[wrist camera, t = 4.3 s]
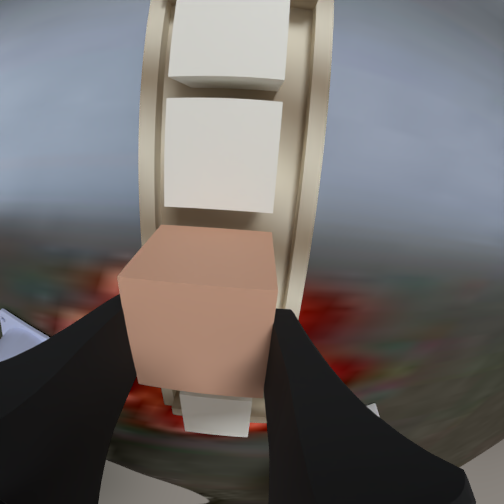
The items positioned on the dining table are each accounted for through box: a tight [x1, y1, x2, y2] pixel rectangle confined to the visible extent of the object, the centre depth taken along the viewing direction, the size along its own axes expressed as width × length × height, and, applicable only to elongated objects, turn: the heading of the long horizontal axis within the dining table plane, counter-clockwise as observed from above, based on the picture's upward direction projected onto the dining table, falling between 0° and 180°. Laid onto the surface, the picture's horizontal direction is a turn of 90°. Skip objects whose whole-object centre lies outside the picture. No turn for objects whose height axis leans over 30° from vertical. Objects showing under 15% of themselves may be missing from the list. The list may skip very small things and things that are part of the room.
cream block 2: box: [164, 98, 283, 213], centre depth 12 cm, size 4×4×4 cm
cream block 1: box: [168, 0, 290, 92], centre depth 10 cm, size 4×4×4 cm
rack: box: [139, 0, 334, 423], centre depth 15 cm, size 26×8×3 cm, turn 176°
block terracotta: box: [117, 225, 278, 398], centre depth 10 cm, size 4×4×4 cm
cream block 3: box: [179, 391, 252, 437], centre depth 18 cm, size 4×4×4 cm
